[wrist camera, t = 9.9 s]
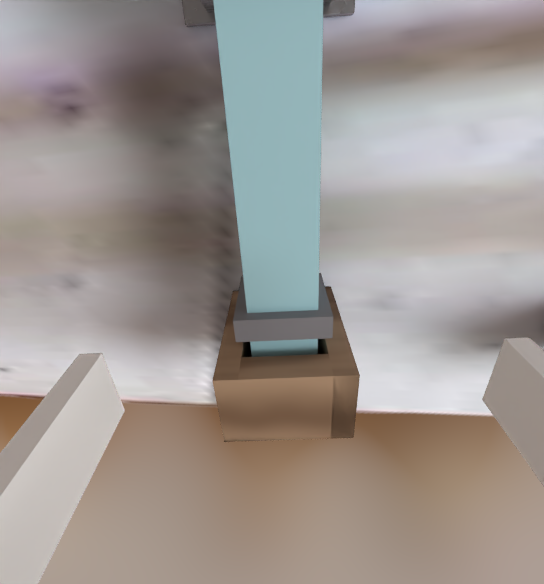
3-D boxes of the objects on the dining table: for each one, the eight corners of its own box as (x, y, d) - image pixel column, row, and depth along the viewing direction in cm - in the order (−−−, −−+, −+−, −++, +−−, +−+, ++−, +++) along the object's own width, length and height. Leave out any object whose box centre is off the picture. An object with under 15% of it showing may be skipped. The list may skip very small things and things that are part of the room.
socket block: (233, 291, 29) (212, 380, 19) (330, 286, 29) (359, 375, 19) (239, 341, 32) (224, 441, 22) (328, 337, 31) (353, 437, 22)
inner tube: (198, -115, 15) (157, -237, 10) (328, -126, 15) (357, -256, 10) (248, 342, 28) (243, 396, 23) (319, 340, 28) (330, 393, 22)
